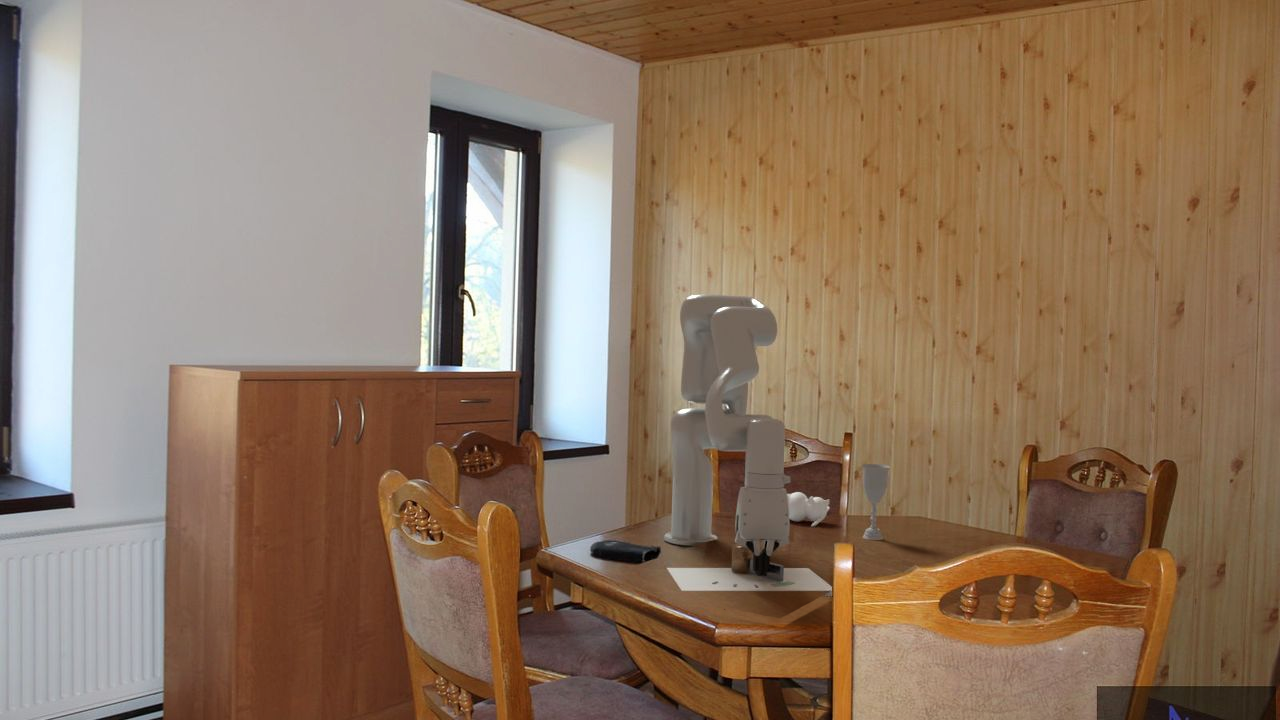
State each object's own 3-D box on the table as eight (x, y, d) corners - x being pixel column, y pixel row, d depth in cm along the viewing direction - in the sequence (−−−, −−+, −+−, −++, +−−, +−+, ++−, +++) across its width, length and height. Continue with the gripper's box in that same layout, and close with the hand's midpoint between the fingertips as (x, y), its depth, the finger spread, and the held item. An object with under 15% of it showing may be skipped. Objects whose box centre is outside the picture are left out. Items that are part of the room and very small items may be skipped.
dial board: (666, 573, 206) (666, 567, 206) (808, 573, 210) (808, 567, 210) (681, 597, 188) (681, 589, 188) (836, 596, 192) (836, 589, 192)
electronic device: (661, 564, 222) (602, 546, 228) (664, 540, 221) (604, 523, 227) (642, 578, 214) (581, 559, 220) (644, 554, 213) (584, 535, 219)
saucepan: (726, 569, 205) (727, 545, 205) (741, 567, 208) (742, 543, 207) (774, 582, 195) (775, 557, 195) (788, 579, 198) (789, 554, 198)
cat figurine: (830, 488, 268) (785, 483, 272) (822, 515, 260) (777, 509, 264) (830, 513, 272) (787, 507, 276) (823, 540, 264) (778, 533, 268)
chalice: (893, 540, 248) (896, 467, 248) (869, 541, 246) (872, 468, 245) (875, 534, 255) (878, 463, 255) (852, 535, 253) (855, 464, 252)
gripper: (795, 479, 202) (792, 570, 202) (722, 478, 200) (719, 570, 200) (806, 484, 194) (803, 579, 195) (730, 483, 192) (727, 579, 193)
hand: (760, 574), depth 197 cm, fingers closed
